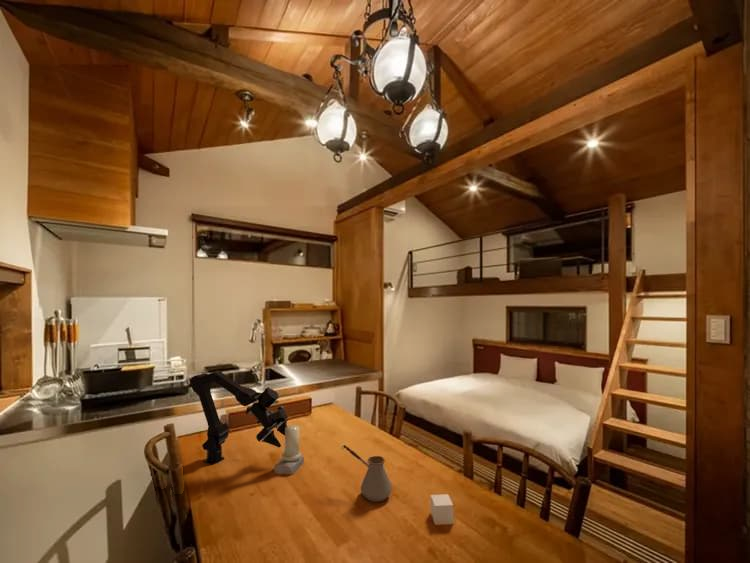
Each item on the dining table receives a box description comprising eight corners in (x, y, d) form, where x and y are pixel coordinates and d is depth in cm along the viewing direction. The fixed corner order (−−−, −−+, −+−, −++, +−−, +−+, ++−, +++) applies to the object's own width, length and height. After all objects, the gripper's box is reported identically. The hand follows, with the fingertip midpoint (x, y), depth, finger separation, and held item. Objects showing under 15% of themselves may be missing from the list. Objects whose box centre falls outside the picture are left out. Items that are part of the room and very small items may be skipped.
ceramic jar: (278, 460, 143) (279, 430, 145) (286, 453, 151) (287, 424, 152) (297, 462, 142) (297, 430, 144) (303, 454, 150) (304, 425, 151)
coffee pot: (397, 492, 126) (397, 451, 127) (381, 509, 117) (381, 464, 117) (351, 477, 138) (351, 439, 138) (333, 490, 128) (333, 450, 129)
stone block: (272, 478, 141) (294, 475, 139) (270, 466, 142) (292, 463, 140) (285, 465, 152) (306, 463, 151) (284, 454, 153) (304, 452, 151)
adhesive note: (430, 513, 114) (430, 494, 115) (448, 512, 115) (448, 494, 115) (435, 525, 108) (434, 505, 109) (453, 524, 109) (453, 504, 109)
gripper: (263, 408, 139) (288, 438, 137) (284, 395, 157) (306, 421, 155) (245, 426, 140) (269, 456, 138) (268, 412, 159) (290, 438, 156)
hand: (285, 442), depth 147 cm, fingers open, 9 cm apart
